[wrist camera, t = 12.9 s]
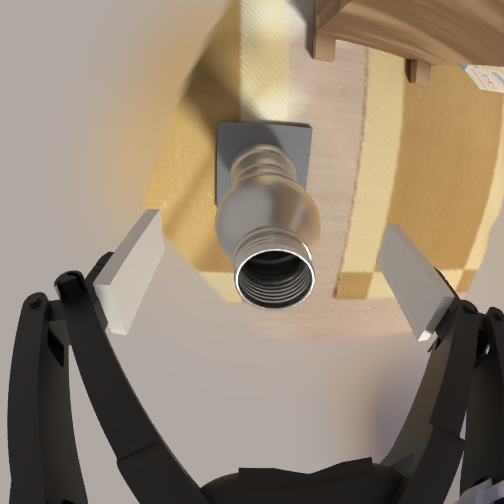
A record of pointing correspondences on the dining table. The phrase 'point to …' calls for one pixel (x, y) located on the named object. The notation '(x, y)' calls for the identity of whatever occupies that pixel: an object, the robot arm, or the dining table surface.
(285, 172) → the plastic bottle
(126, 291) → the robot arm
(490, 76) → the ink box
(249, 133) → the coaster
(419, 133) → the dining table surface
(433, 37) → the screen
